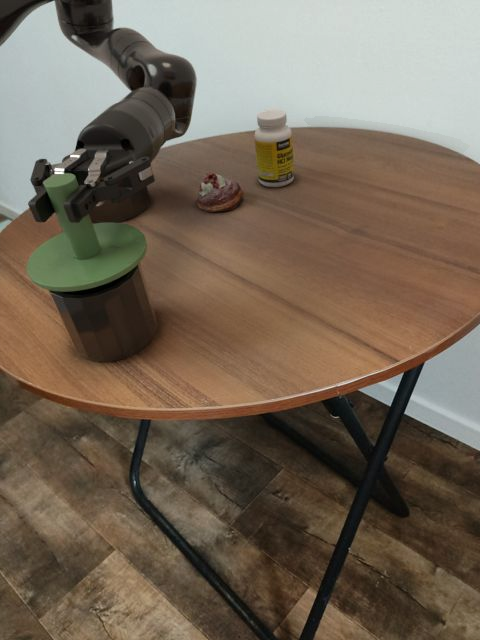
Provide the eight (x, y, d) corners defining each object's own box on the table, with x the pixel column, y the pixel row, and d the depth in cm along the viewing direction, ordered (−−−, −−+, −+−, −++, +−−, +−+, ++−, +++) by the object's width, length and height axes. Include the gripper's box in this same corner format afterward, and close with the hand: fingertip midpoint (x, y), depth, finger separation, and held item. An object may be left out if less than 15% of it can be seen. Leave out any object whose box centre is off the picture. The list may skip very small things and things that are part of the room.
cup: (58, 359, 60) (28, 296, 54) (96, 306, 67) (72, 245, 61) (139, 365, 58) (116, 300, 52) (168, 310, 65) (151, 247, 59)
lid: (7, 294, 53) (-37, 211, 47) (65, 230, 62) (35, 154, 56) (121, 299, 50) (90, 212, 44) (164, 232, 59) (144, 151, 53)
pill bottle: (283, 190, 87) (278, 122, 79) (252, 185, 90) (244, 119, 82) (301, 175, 90) (297, 109, 83) (270, 171, 93) (264, 106, 86)
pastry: (189, 201, 87) (183, 172, 84) (227, 187, 90) (223, 158, 87) (212, 218, 82) (207, 188, 79) (252, 202, 85) (249, 172, 81)
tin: (69, 223, 85) (53, 179, 80) (99, 191, 94) (86, 150, 89) (134, 224, 83) (121, 179, 78) (159, 191, 91) (149, 149, 86)
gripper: (186, 172, 62) (131, 250, 50) (80, 173, 65) (4, 247, 53) (172, 106, 57) (108, 174, 45) (58, 111, 60) (-31, 176, 48)
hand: (52, 213), depth 49 cm, fingers closed on lid, 3 cm apart
